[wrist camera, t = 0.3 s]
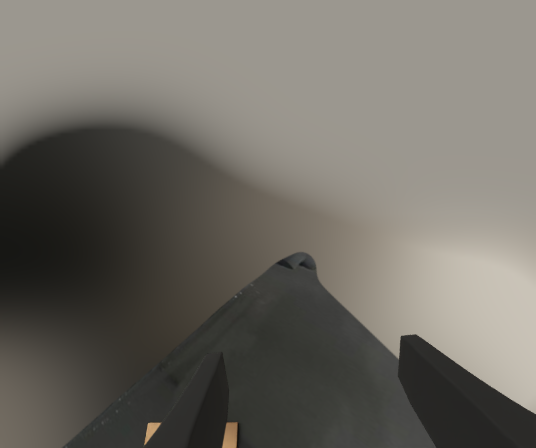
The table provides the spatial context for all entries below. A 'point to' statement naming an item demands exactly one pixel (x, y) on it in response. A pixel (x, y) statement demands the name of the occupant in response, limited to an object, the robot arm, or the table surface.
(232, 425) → the cork mat
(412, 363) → the robot arm
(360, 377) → the table surface
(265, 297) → the table surface
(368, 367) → the table surface
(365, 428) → the table surface
